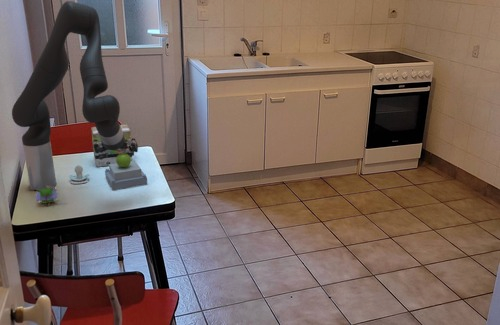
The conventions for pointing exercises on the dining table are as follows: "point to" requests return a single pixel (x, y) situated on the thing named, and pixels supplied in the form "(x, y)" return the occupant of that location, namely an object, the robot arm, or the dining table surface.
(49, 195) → the geometric puzzle
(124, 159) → the snail figurine
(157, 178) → the dining table surface
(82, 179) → the pacifier
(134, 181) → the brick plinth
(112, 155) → the tea box
